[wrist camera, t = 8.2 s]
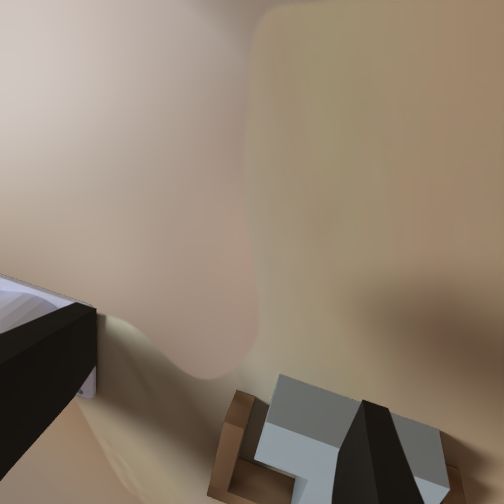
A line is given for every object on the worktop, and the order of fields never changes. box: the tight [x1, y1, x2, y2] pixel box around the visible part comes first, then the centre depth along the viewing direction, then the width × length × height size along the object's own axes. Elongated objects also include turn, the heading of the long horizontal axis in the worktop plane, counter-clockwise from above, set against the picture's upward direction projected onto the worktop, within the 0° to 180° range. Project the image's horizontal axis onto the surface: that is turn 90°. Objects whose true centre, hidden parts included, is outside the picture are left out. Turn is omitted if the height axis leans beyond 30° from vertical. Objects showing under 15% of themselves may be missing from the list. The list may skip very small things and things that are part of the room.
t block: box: [254, 374, 450, 504], centre depth 23 cm, size 9×8×4 cm
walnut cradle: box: [207, 390, 466, 504], centre depth 24 cm, size 13×7×2 cm, turn 79°
